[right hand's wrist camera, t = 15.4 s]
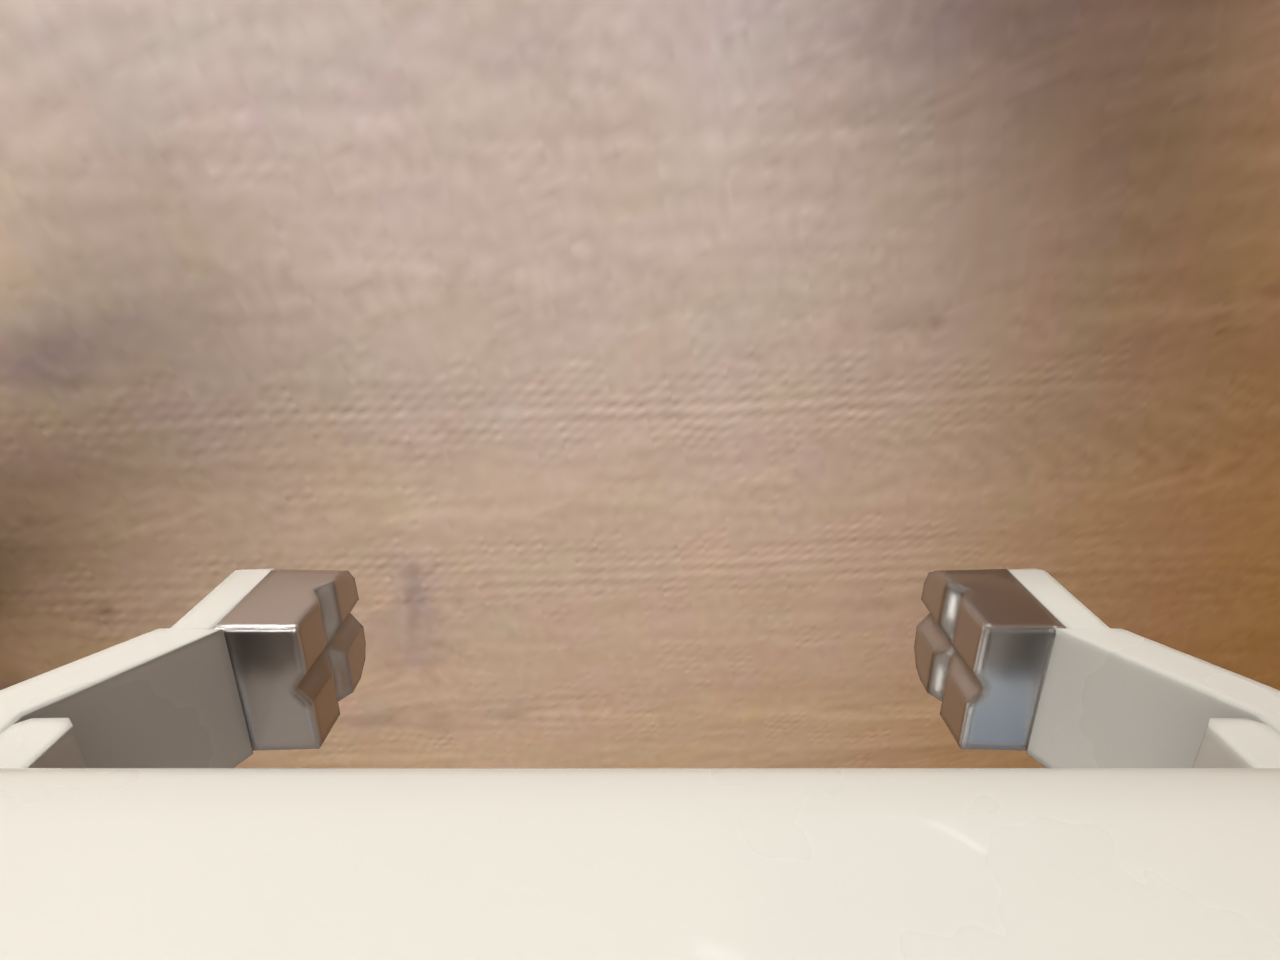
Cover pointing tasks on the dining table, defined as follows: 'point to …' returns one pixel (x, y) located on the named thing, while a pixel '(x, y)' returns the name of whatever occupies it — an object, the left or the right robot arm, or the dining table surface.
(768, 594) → the dining table surface
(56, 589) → the dining table surface
